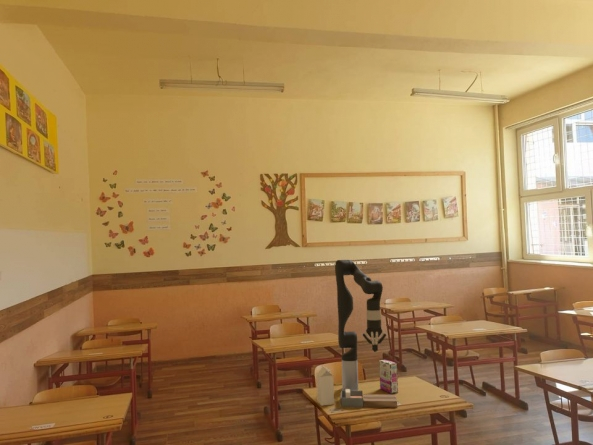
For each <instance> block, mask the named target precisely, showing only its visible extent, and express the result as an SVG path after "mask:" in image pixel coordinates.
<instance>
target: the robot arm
mask: <svg viewBox="0 0 593 445" xmlns="http://www.w3.org/2000/svg"><path fill="white" fill-rule="evenodd" d="M334 273H335V279H336V280H335V281H336V295H337V296H336V297H337V301H336V302H337V317H338V319H337V320H338V326H337V328H338V335H337V337H338V338H337V341H338V345H339V348H340V349H349V350H348V351H347V352H344V353H342V354H341V378H342V380H341V381H342V382H341V384H342V390H346V389H350V390H359V368H358V366H359V365H358V335H357V332H356V331H345V328H346V325H347V322H348V320H349V318H350V317H351V314H352V313H353V310H354V297H353V295H352V293H351V291H350V290H349V289H348V287H347V285H346V282H345V278H344V276H353V281H354V282H355V284H356V285H358V286H359V287H360V289H361V290H362V292H363V293H364V294H365V295H372V297H370V298H367V300H366V330H365V332H363V333H362V337H363V338H364V339H365V340H366V341H367V342H368V344H371V346H372V347H371V350H372V351H373V353H376V352H377V351H379V344H381V343H382V342H383V341H384V340H385V338H386V337H387V333H386V332H384V331H383V329H382V315H381V299H382V294H383V290H384V289H383V288H384V287H383V284H382V282H381V281H379V280H372V279H371V277H370V276H368V275H367V274H365V272H363V271H362V270H361V269H360V268H359V267H358V266H357V264H356V263H355V262H354V261H353V260H352V259H351V260H350V259H337V260H336V261H335V264H334ZM368 336H369V337H368ZM380 336H381V337H380ZM379 337H380V338H379ZM370 338H371V339H370Z"/></svg>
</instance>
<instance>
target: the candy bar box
mask: <svg viewBox="0 0 593 445" xmlns="http://www.w3.org/2000/svg"><path fill="white" fill-rule="evenodd" d="M378 364H379V366H378V367H379V389H380V390H382V391H385V392H387V393H389V394H390V395H393V394H397V393H399V385H398V378H399V377H398V363H397V362H394V361H391V360H387V359H381V360H380V359H379V363H378Z"/></svg>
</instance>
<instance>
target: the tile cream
mask: <svg viewBox="0 0 593 445" xmlns="http://www.w3.org/2000/svg"><path fill="white" fill-rule="evenodd" d="M346 398H350V389H346Z"/></svg>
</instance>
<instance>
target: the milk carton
mask: <svg viewBox="0 0 593 445" xmlns="http://www.w3.org/2000/svg"><path fill="white" fill-rule="evenodd" d="M334 384H335V383H334V375H333V374H332V373H331V369H329V368H327V367H326V366H324V365H322V366H321V368H320V370H318V371H317V372H316V398H317V400H316V402H317V403H318V404H319V405H320V406H321V407H322V406H330V405H331V406H332V405H335V391H334Z"/></svg>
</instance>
